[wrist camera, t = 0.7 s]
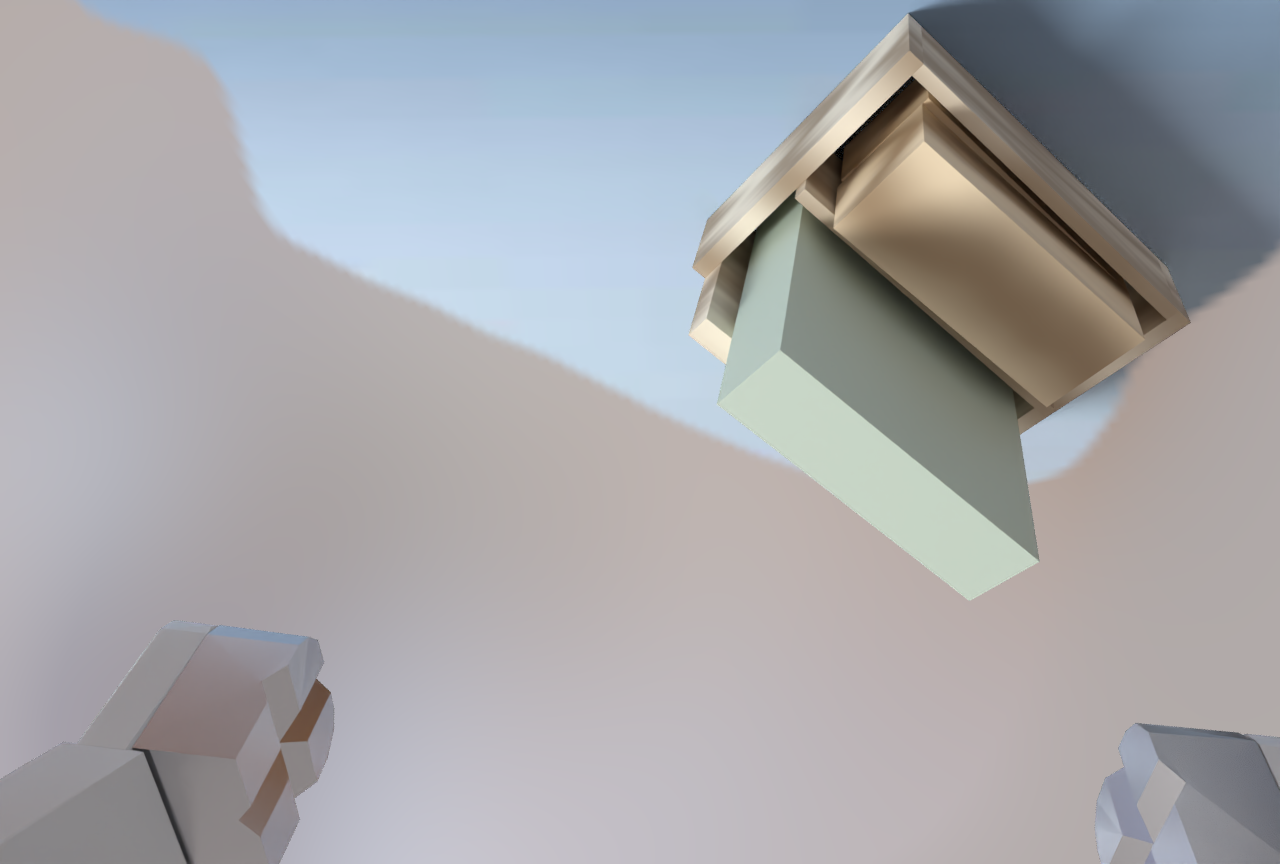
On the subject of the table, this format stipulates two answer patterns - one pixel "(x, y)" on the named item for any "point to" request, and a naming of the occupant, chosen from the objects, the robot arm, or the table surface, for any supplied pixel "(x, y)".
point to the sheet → (879, 404)
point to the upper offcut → (985, 259)
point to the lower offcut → (919, 95)
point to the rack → (815, 180)
